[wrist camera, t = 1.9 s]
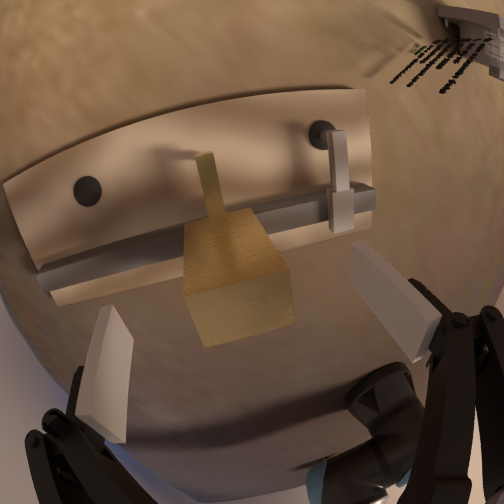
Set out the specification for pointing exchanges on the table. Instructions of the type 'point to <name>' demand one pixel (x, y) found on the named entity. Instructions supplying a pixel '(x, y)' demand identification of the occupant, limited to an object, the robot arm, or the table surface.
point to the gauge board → (194, 187)
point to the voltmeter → (468, 43)
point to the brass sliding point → (232, 270)
